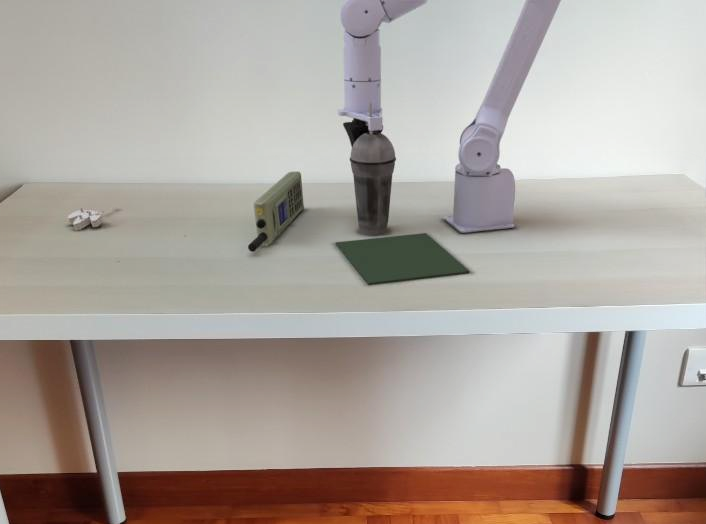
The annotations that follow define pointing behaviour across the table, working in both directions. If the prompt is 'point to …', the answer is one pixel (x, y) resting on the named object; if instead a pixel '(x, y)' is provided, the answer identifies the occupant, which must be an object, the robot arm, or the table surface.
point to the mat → (400, 258)
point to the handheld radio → (277, 209)
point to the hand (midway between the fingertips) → (363, 168)
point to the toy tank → (85, 218)
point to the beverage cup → (372, 180)
